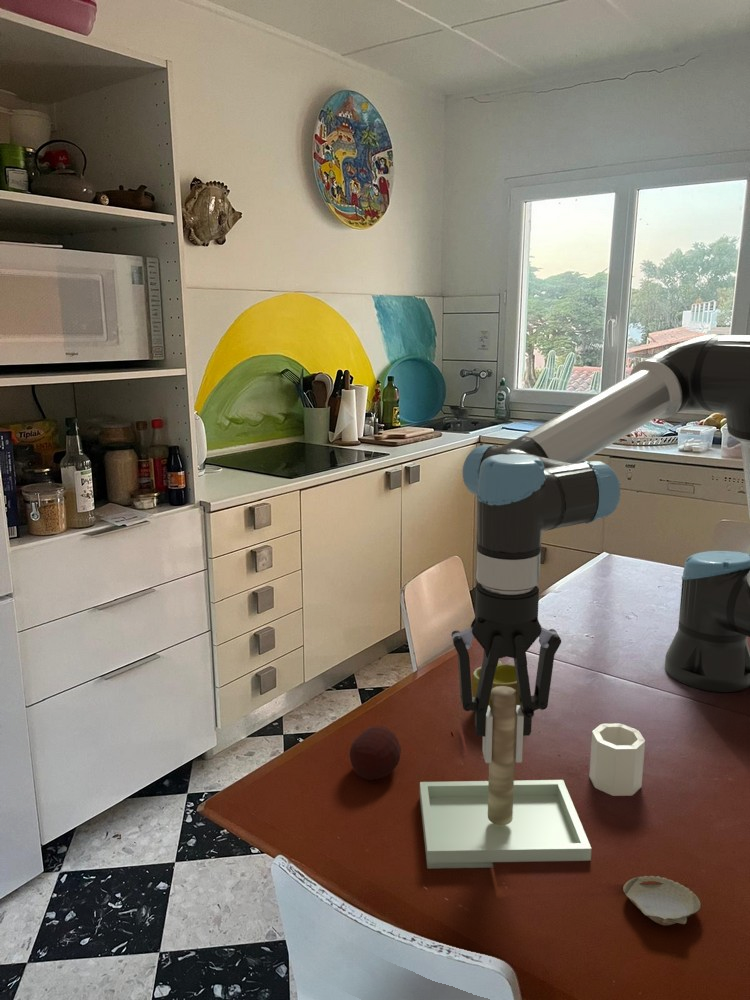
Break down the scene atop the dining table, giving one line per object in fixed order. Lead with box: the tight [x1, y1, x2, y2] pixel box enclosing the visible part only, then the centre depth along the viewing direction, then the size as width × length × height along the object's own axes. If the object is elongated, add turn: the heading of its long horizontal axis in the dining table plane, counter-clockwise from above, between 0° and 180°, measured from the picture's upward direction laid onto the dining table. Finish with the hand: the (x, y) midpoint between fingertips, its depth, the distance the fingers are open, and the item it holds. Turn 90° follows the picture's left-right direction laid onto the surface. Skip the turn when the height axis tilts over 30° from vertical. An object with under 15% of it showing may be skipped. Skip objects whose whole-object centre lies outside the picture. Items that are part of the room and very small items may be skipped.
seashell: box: [622, 875, 702, 926], centre depth 87 cm, size 8×3×8 cm
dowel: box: [488, 686, 517, 825], centre depth 98 cm, size 3×3×18 cm
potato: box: [349, 725, 402, 781], centre depth 113 cm, size 7×10×6 cm
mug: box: [471, 660, 530, 709], centre depth 128 cm, size 12×10×10 cm
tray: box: [419, 779, 593, 870], centre depth 100 cm, size 20×14×2 cm
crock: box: [588, 722, 646, 797], centre depth 109 cm, size 7×7×8 cm
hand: (501, 756), depth 98 cm, fingers closed on dowel, 3 cm apart
